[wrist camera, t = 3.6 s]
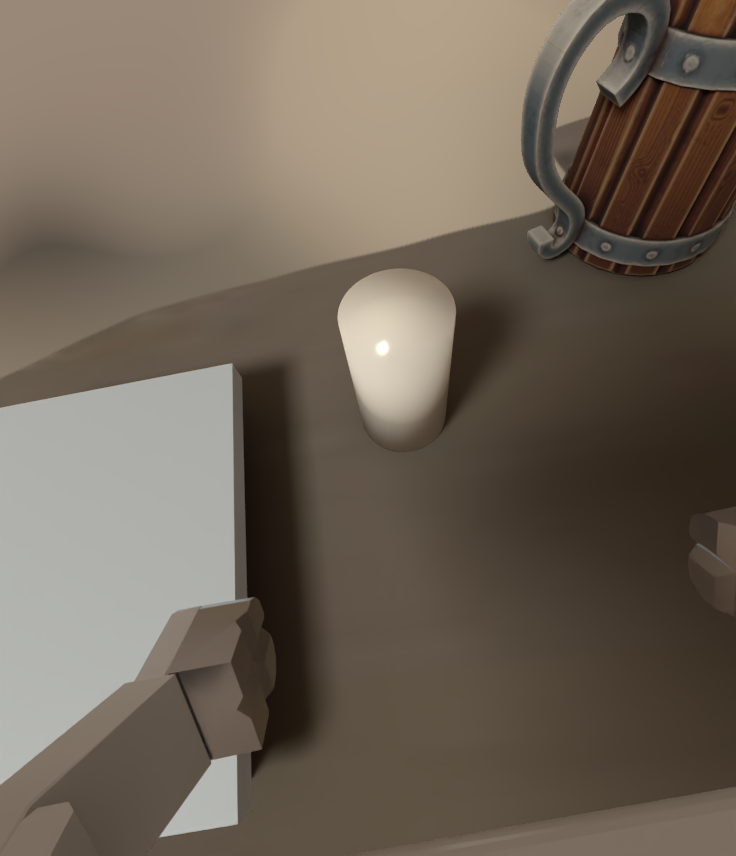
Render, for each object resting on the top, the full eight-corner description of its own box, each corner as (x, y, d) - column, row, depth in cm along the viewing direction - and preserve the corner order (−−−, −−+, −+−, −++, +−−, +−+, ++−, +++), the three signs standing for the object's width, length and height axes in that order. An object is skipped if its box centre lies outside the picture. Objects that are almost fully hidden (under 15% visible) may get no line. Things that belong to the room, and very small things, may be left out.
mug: (641, 164, 35) (779, -143, 21) (746, 247, 30) (1007, -82, 16) (461, 232, 33) (488, -48, 20) (539, 332, 28) (643, 48, 15)
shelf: (272, 792, 19) (237, 824, 15) (-42, 845, 19) (-146, 888, 16) (255, 399, 28) (232, 363, 25) (44, 440, 29) (-9, 409, 25)
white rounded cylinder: (454, 443, 25) (469, 346, 18) (369, 459, 26) (345, 370, 18) (435, 372, 28) (440, 259, 20) (357, 387, 28) (331, 280, 20)
